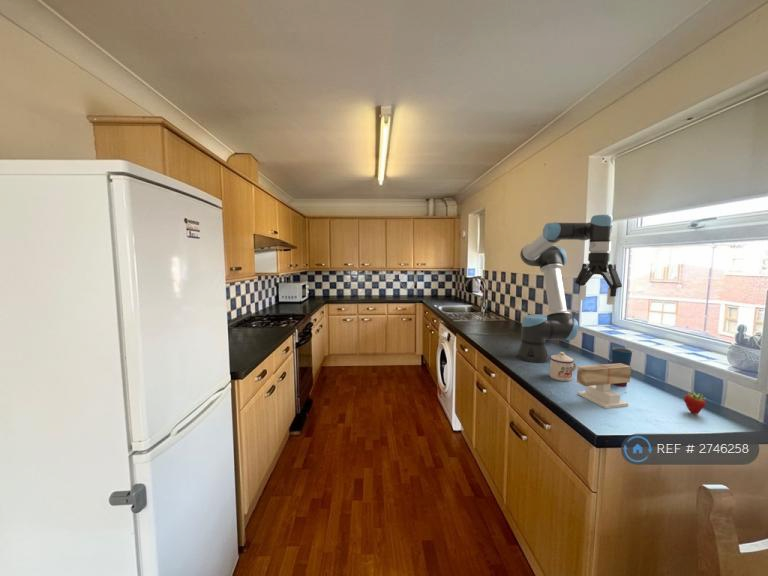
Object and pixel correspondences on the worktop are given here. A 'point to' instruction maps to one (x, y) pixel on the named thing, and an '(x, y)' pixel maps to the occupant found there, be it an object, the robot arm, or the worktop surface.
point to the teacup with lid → (561, 367)
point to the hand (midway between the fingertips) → (595, 302)
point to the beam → (603, 374)
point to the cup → (621, 359)
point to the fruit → (694, 402)
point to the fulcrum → (603, 396)
